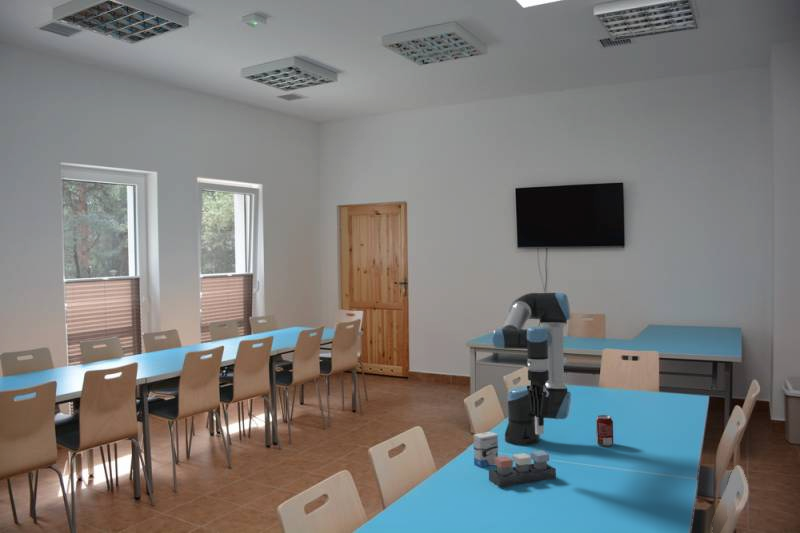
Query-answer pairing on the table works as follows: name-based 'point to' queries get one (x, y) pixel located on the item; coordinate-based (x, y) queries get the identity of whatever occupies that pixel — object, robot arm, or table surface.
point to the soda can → (604, 430)
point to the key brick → (503, 465)
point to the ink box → (485, 448)
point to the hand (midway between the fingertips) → (539, 433)
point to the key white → (522, 462)
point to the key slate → (540, 459)
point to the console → (522, 476)
